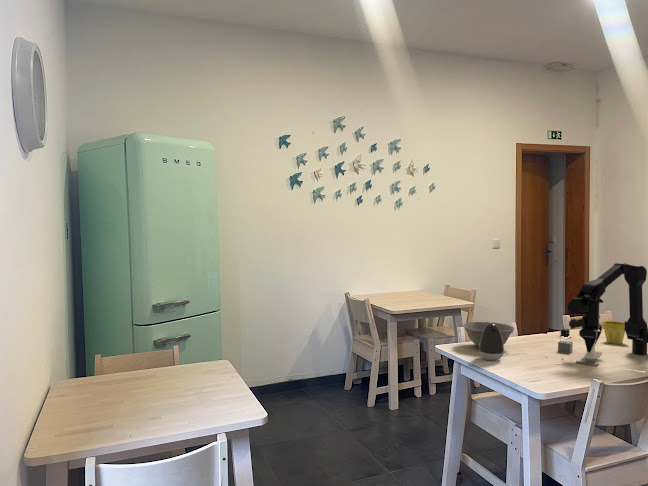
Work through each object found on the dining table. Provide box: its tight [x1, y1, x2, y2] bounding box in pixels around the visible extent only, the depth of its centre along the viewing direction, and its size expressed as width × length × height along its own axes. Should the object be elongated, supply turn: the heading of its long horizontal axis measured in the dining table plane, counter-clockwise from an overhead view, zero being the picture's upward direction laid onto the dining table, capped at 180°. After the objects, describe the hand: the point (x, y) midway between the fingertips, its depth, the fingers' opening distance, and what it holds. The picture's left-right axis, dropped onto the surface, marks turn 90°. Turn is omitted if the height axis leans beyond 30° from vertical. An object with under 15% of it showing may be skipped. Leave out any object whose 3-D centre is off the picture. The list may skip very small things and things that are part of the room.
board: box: [575, 350, 604, 367], centre depth 215 cm, size 26×8×1 cm, turn 144°
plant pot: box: [602, 320, 626, 345], centre depth 245 cm, size 10×10×10 cm
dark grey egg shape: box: [478, 324, 505, 362], centre depth 212 cm, size 10×10×15 cm
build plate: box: [560, 328, 570, 337], centre depth 256 cm, size 12×7×5 cm, turn 134°
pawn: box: [583, 341, 598, 361], centre depth 212 cm, size 5×5×10 cm
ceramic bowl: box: [463, 321, 515, 348], centre depth 233 cm, size 22×23×10 cm
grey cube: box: [557, 339, 573, 354], centre depth 224 cm, size 5×5×5 cm
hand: (590, 349), depth 213 cm, fingers open, 9 cm apart
